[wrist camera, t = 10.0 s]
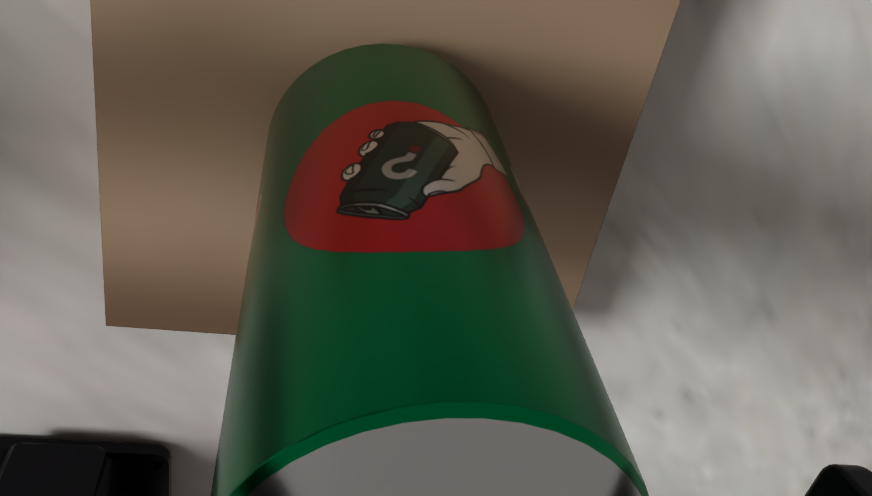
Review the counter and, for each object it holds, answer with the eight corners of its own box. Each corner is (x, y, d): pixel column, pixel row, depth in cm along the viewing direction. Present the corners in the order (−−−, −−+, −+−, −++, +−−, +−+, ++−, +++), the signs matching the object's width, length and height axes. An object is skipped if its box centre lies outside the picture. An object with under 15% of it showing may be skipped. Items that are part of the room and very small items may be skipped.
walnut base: (536, 303, 24) (555, 357, 22) (127, 269, 22) (105, 325, 20) (668, -114, 18) (713, -94, 16) (113, -225, 15) (79, -218, 13)
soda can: (219, 121, 17) (65, 665, 7) (409, -15, 16) (537, 406, 6) (359, 271, 20) (387, 823, 10) (530, 162, 18) (762, 663, 9)
